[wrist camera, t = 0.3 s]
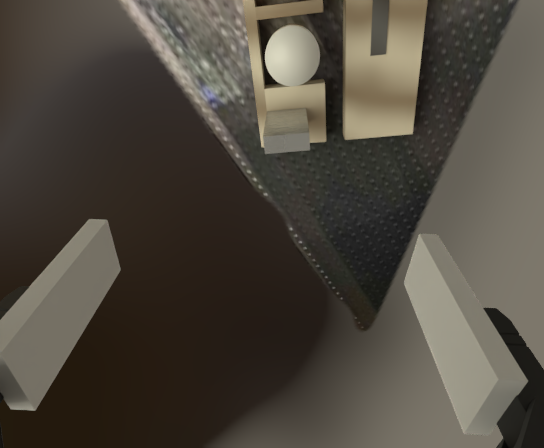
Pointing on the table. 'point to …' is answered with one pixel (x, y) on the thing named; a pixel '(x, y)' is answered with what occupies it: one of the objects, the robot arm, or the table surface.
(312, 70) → the white egg
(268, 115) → the toggle lever
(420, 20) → the beige flat pieces
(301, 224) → the table surface
